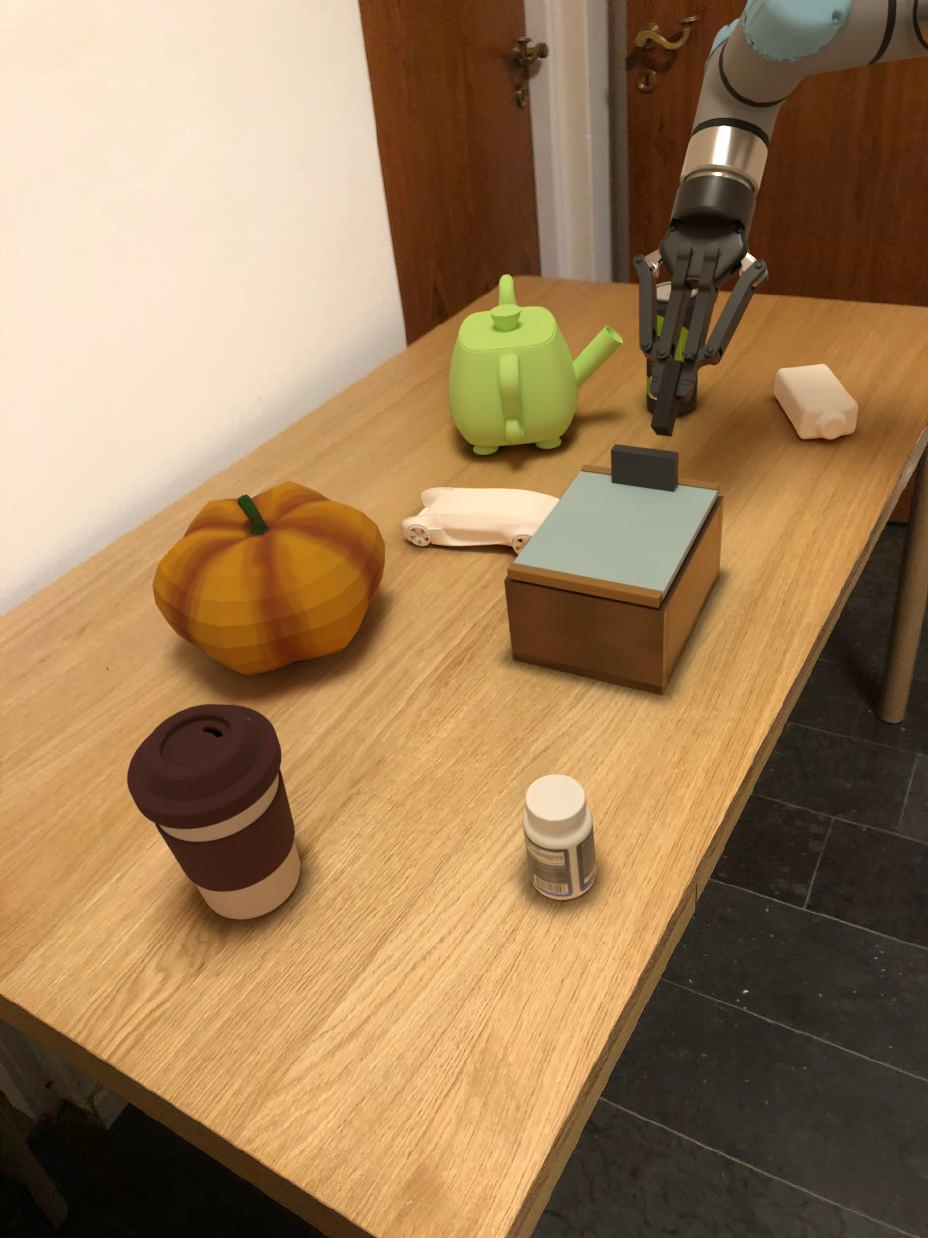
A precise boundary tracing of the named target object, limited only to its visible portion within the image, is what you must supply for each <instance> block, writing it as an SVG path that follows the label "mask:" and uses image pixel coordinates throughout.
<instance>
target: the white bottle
mask: <svg viewBox="0 0 928 1238" xmlns="http://www.w3.org/2000/svg"><path fill="white" fill-rule="evenodd" d="M773 395H774V398H775V399H776V400H777V401H778V403H779V405H780V406H781V408H782V410H783V412H784V413H785V414H786V416H787V418H788V419H789V421H790V422H791V424H792V425H793V428H794V429H795V431H796V434H797V435H798V436H799V438H800V439H802V440H812V439H813V440H814V439H826V440H834V439H837V438H839V437H840V436H841V437H842V436H850V435H852V434H853V433H854V432H855V431H856V427H857V422H858V413H859V404H858V402H857V401H856V399H854V398H853V397H852V396H851V395H850V392H848V390H847V389H846V388H845V387H844V386H843V384H842V383H841V382H840V380H839V379H838V378H837V377H836V375H835V374H834V373H833V371H832V370H831V369H830V367H828V365H827V364H825V363H818V364H812V365H804V366H794V367H793V366H791V367H781V368H779V369H778V371H777V372H776V376H775V381H774V389H773Z"/></svg>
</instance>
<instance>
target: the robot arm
mask: <svg viewBox="0 0 928 1238" xmlns="http://www.w3.org/2000/svg"><path fill="white" fill-rule="evenodd" d="M923 57H928V0H746V4H745V6H744V8H743V11H742V13H741V15H740V17H739V18H736V19H734V20H733V21H732V22H731V23H730V24H728V25H727V24H726V25H724V26H723V27H721V29H720V30H719V31H718V32H717V34H716V35H715V37H714V40H713V42H712V46H711V49H710V53H709V56H708V59H706V61H705V65H704V69H703V78H702V79H703V80H702V85H701V90H700V94H699V99H698V102H697V107H696V111H695V116H694V120H693V124H692V128H691V133H690V137H689V140H688V145H687V148H686V152H685V156H684V161H683V165H682V168H681V173H680V177H679V187H678V188H677V190H676V194H675V198H674V202H673V206H672V211H671V214H670V219H669V224H668V228H667V232H666V234H665V236H664V237H663V238H662V240H661V241H660V242H659V245H658V249H656V250H654V251H653V252H650V253H649V254H646V255H644V254H643V253H642V254H641V253H637V254H636V255H634V256H633V257H632V264H633V267H634V269H635V271H636V274H637V276H638V326H639V327H638V346H639V349H640V350H641V352H642V354H643V355H644V358H646V360H647V359H649V360H653V361H655V366H654V370H653V374H652V378H651V383H650V387H649V388H650V393H651V395H652V396H653V398H657V400H656V405H655V409H654V412H653V413H652V418H651V422H650V428H651V429H652V431H653V432H654V434H655V435H656V436H662V437H669V438H670V437H671V438H672V437H673V433H674V430H675V424H676V421H677V417H678V416H677V412H678V408H679V404H680V401H689V400H690V398H691V397H692V393H693V389H694V385H695V380H696V376H697V372H698V373H699V370H700V369H701V368H703V367H707V366H709V365H710V366H717V365H719V363H720V362H721V361H722V359H723V357H724V355H725V353H726V351H727V349H728V347H729V345H730V343H731V341H732V339H733V337H734V335H735V332H736V331H737V329H738V327H739V325H740V323H741V321H742V319H743V316H744V314H745V312H746V311H747V309H748V307H749V304H750V302H751V300H752V298H753V296H754V295H755V294H756V292H757V291H759V289H760V288H761V287H762V286H763V285H765V283H767V281H768V280H769V278H770V277H769V271H768V267H767V263H766V260H765V259H762V258H758V259H756V258H755V257H754V256H753V255H751V252H750V246H749V243H748V242H749V241H748V240H749V235H750V232H751V227H752V224H753V219H754V215H755V214H754V213H755V210H756V206H757V198H756V197H757V196H758V194H759V191H760V188H761V185H762V184H761V183H762V180H763V176H764V171H765V167H766V163H767V158H768V153H769V149H770V143H771V139H772V136H773V131H774V128H775V124H776V120H777V117H778V114H779V111H780V109H781V107H782V105H783V104H784V102H785V101H786V100H787V99H788V98H789V97H790V95H792V94H793V92H794V90H795V89H796V88H797V86H798V85H799V84H800V82H801V81H802V80H803V78H805V77H808V76H813V75H814V76H815V75H819V74H824V73H831V72H837V71H841V70H842V71H843V70H847V69H854V68H859V67H866V66H870V65H874V64H879V63H887V62H894V61H900V60H906V59H914V58H923ZM662 264H664V266H665V268H666V270H667V272H668V274H669V276H670V278H671V281H670V282H671V292H670V296H669V300H668V305H667V309H666V313H665V317H664V321H663V326H662V330H661V334H660V338H659V342H658V344H657V286H656V285H657V282H656V279H657V278H658V277H659V275H660V273H661V266H662ZM738 271H739V272H738ZM737 272H738V275H739V278H738V280H737V281H736V283H735V285H734V287H733V289H732V291H731V293H730V294H729V296H728V299H727V301H726V303H725V305H724V307H723V309H722V311H721V312H720V315H719V317H718V319H717V321H716V323H715V325H714V327H713V329H712V331H711V333H710V335H709V337H708V334H709V329H710V326H711V321H712V316H713V312H714V308H715V303H717V302H718V301H717V300H718V297H719V292H720V288H721V287H722V286H723V285H725V283H727V281H729V279H731V278H732V276H734V275H735V274H736V273H737ZM693 289H698V293H697V297H696V301H695V306H694V310H693V314H692V319H691V323H690V327H689V332H688V336H687V340H686V344H685V349H684V353H683V351H682V356H683V358H684V360H683V362H682V361H680V360H674V359H675V355H676V351H677V347H678V342H679V338H680V334H681V330H682V326H683V321H684V317H685V313H686V309H687V305H688V301H689V300H690V298H691V294H692V290H693Z"/></svg>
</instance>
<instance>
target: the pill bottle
mask: <svg viewBox="0 0 928 1238" xmlns="http://www.w3.org/2000/svg"><path fill="white" fill-rule="evenodd" d="M586 797H587V796H586V792H585V789H584V787H583V786H582V785H581V783H580V782H579V781H578V780H577V779H576V778H573V777H571V776H569V775H566V774H561V773H554V774H553V773H551V774H547V775H543V776H541V777H539V778H537V779H535V781H533V782H532V783H531V784H530V785H529V786H528V788H527V790H526V793H525V798H524V800H525V810H524V813H523V816H522V829H523V836H524V842H525V849H526V857H527V865H528V873H529V878H530V880H531V883H532V886H533V887H534V888H535V889H536V890H537V891H538V892H539V893H540V894H542V895H543V896H545V897H547V898H549V899H553V900H558V901H559V900H560V901H565V900H571V899H572V900H573V899H575V898H578V897H580V896H582V895H584V894H585V893H586V892H588V890H589V889H590V888H591V887H592V886H593V884H594V882H595V879H596V876H597V875H596V874H597V865H596V848H595V847H596V846H595V835H594V818H593V814H592V811H591V808H590V807H589V805H588V804H587V799H586Z"/></svg>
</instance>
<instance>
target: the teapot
mask: <svg viewBox="0 0 928 1238" xmlns="http://www.w3.org/2000/svg"><path fill="white" fill-rule="evenodd" d="M514 284H515V283H514V279H513V277H512V276H511V275H510V274H503V275H502V276H500V278H499V282H498V304H497V306H495V307H493V308H491V309H490V310H485V311H484V310H483V311H477V312H473V313H471V314H470V315H468V316H466V317H465V319H464V320H462V323H461V325H460V327H459V330H458V333H457V337H456V340H455V344H454V348H453V351H452V356H451V361H450V365H449V373H448V385H447V387H448V388H447V389H448V393H447V394H448V395H447V396H448V406H449V407H448V408H449V413H450V416H451V419H452V421H453V424H454V425H455V427H456V429H457V430H458V432H459V433H460V435H461V436H462V437H463V438H464V439H465V440H466V442H468V443H469V444H470V445H472V446H473V448H472V451H473V453H475V454H477V455H482V456H484V455H485V456H486V455H491V454H493V453H495V452H497V451H498V450H499V448H500V447H501V446H502V447H503V446H514V445H515V446H517V445H523V444H524V445H525V444H533V443H534V444H535V446H536V447H537V448H539V449H543V450H551V449H555V448H557V447H559V446H560V445H561V444H562V439H561V436H563V435H564V434H565V433H566V432H567V430H568V428H569V426H570V425H571V424H572V421H573V418H574V416H575V413H576V411H577V407H578V403H579V396H580V395H579V389H580V388H581V386H582V385H584V384H585V383H586V381H588V380H589V379H590V377H592V376H593V375H594V374H595V372H596V371H598V369H599V368H600V367H601V366H602V365H603V364H604V363H605V362H606V361H607V360H608V359H609V358H610V357H611V356H612V355H613V354H614V353H615V352H616V351H617V350H618V349H619V348H620V347H621V346H622V345H623V344H624V340H623V338H622V337H621V335H620V334H619V333H618V332H617V331H616V330H614V329H613V328H612V327H610V326H608V325H605V326H604V327H603V328H602V329H601V330H600V332H598V333H597V335H596V336H595V337H594V338H593V339H592V340H591V341H590V342H589V344H588V345H587V346H586V347H585V348H584V349H583V350H582V351H581V353H580V354H579V355H577V357H575V359H574V360H573V357H572V354H571V350H570V349H569V347H568V344H567V342H566V339H565V337H564V335H563V333H562V331H561V329H560V327H559V324H558V323H557V321H556V318H555V317H554V315H553V314H552V312H551V311H550V310H549V309H547V308H545V307H544V306H540V305H537V306H536V305H535V306H534V305H533V306H520V305H518V303H517V299H516V295H515V285H514Z"/></svg>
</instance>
